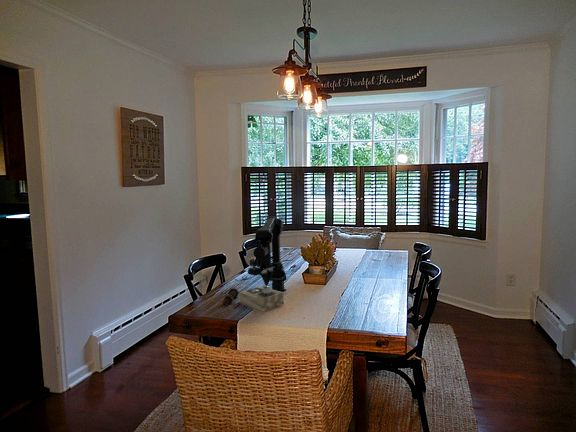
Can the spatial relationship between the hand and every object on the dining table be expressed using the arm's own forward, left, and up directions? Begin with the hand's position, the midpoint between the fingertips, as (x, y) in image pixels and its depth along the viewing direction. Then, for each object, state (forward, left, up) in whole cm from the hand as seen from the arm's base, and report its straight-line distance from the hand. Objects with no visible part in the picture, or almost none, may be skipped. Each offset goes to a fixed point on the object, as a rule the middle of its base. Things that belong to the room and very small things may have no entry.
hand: (266, 285), depth 209 cm
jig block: (0, -4, -11) cm, 11 cm away
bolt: (+8, -21, -11) cm, 25 cm away
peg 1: (0, -9, -10) cm, 13 cm away
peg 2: (0, 0, -6) cm, 6 cm away
